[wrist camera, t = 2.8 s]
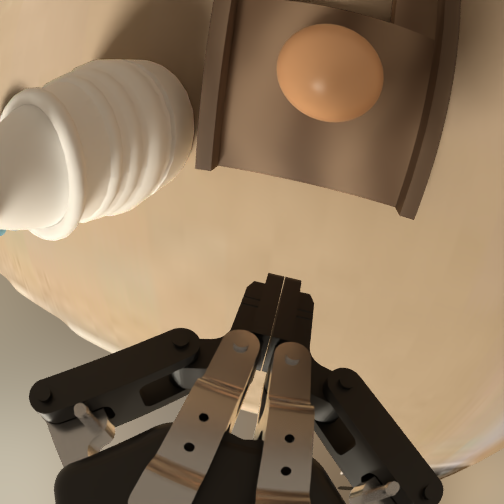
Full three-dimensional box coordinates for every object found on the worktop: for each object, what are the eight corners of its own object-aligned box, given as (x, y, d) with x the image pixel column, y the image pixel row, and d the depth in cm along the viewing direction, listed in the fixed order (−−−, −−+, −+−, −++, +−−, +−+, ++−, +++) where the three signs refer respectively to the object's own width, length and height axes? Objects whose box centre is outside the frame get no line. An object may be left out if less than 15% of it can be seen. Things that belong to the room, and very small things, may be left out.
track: (441, -74, 5) (451, -87, 2) (404, 203, 20) (413, 219, 18) (254, -111, 7) (245, -127, 4) (210, 158, 22) (195, 168, 20)
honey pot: (225, 133, 21) (28, 259, 6) (135, 216, 27) (6, 342, 12) (135, 32, 17) (-66, 43, 2) (67, 129, 23) (-77, 202, 9)
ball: (379, 48, 13) (402, 31, 9) (364, 127, 17) (381, 142, 12) (290, 28, 14) (276, 3, 9) (277, 108, 18) (259, 114, 13)
